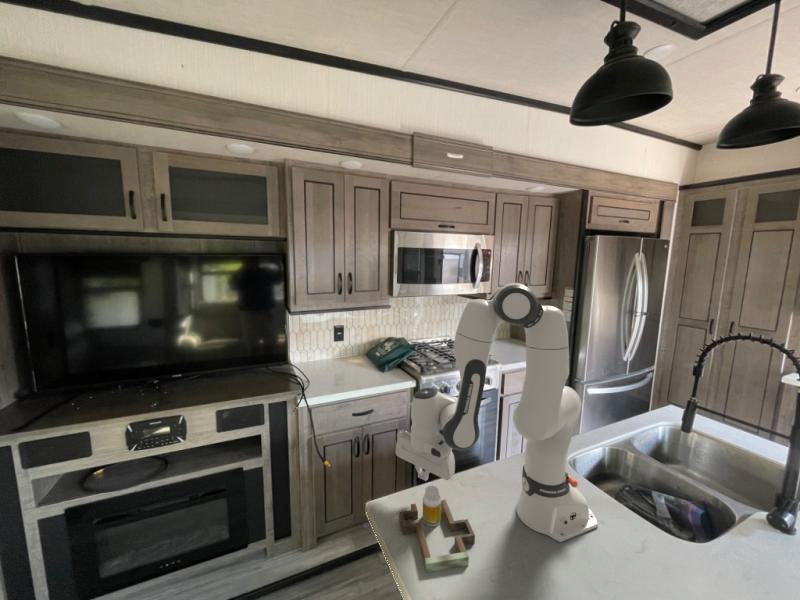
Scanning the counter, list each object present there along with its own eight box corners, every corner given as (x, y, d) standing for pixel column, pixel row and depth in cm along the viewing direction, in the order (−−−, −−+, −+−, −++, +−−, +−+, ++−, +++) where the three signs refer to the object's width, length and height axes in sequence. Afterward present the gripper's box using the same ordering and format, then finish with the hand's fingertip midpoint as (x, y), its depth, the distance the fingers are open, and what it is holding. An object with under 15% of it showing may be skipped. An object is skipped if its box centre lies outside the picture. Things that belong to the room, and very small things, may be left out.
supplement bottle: (440, 528, 95) (440, 498, 93) (421, 525, 96) (421, 495, 94) (441, 513, 100) (441, 485, 99) (423, 511, 101) (424, 482, 100)
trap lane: (457, 505, 103) (457, 498, 103) (483, 562, 84) (483, 554, 84) (398, 513, 100) (398, 506, 100) (410, 575, 81) (410, 566, 81)
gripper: (391, 432, 106) (391, 470, 109) (448, 456, 95) (446, 498, 97) (403, 423, 112) (402, 460, 114) (458, 446, 100) (456, 486, 102)
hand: (423, 478), depth 106 cm, fingers closed
